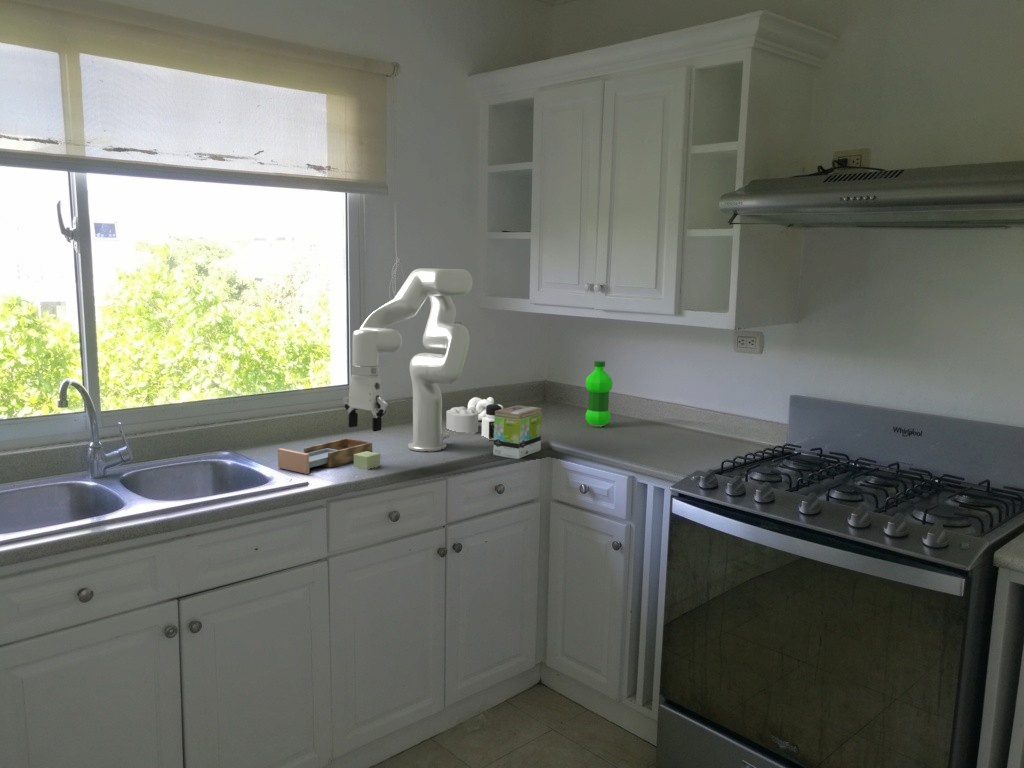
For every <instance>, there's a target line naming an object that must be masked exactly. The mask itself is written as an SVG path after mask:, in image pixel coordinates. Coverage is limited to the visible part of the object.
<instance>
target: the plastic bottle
mask: <svg viewBox="0 0 1024 768" xmlns="http://www.w3.org/2000/svg"><path fill="white" fill-rule="evenodd" d="M593 366H594V367H595V368H594V369H595V370H593V371H592V372H591V373H590V374H588V376H587V377H586V379H585V387H586V390H587V391H588V399H587V400H588V404H587V405H588V406H587V407H588V408H587V410H586V412H585V420H586V422H587V423H588V425H590V424H594V425H605V424H607V425H608V424H609V423H610V421H611V417H612V416H611V414H610V413H611V412H610V411H609V410H610V409H609V402H610V401H609V400H610V399H609V397H610V391H611V390H612V389H613V380H612V377H611V375H610V374H608V372H606V371H605V369H604V368H605V367H606V361H605V360H594V361H593ZM605 426H606V425H605Z"/></svg>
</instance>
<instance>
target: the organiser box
mask: <svg viewBox="0 0 1024 768" xmlns="http://www.w3.org/2000/svg"><path fill="white" fill-rule="evenodd" d="M325 448H329V449H335V450H338V451H333V452H329V453H328V463H326V464H323V465H319V467H323V468H328V469H331V468H335V467H339V466H343V465H346V464H350V463H354V454H358V453H361V452H365V451H368V452H373V442H370V441H364V440H359V439H354V438H349V437H346V438H342V439H337V440H333V441H328V442H324V443H321V444H316V445H311V446H307V447H303V453H309V452H313V451H317V450H321V449H325Z"/></svg>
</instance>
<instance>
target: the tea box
mask: <svg viewBox="0 0 1024 768" xmlns="http://www.w3.org/2000/svg"><path fill="white" fill-rule="evenodd" d="M542 418H543V408H542V407H537V406H536V407H535V406H528V405H520V404H517V405H512V406H508V407H503V409H500V410H496V411H495V420H494V440H493V447H492V448H493V456H497V457H503V458H509V459H516V460H519V459H522V458H523V457H526V456H529V455H531V454H535V453H537V452H538V453H539V452H540V451H541V449H542V445H541V444H542V425H543V424H542V423H543V421H542V420H543V419H542Z"/></svg>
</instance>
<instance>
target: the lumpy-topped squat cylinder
mask: <svg viewBox="0 0 1024 768" xmlns="http://www.w3.org/2000/svg"><path fill="white" fill-rule="evenodd" d="M475 408H476V407H475ZM475 408H474V407H470V408H469V409H468V407H466V406H455V407H451V408H450V409H446V411H445V412H446V414H445V415H446V416H445V418H446V421H445V422H446V423H445V425H446V426H445V427H446V428H447V429H449V430H452V431H456V432H466V433H468V432H476V431H478V432H479V422H478V412H477V411H476V410H475ZM446 428H445V429H446Z"/></svg>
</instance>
